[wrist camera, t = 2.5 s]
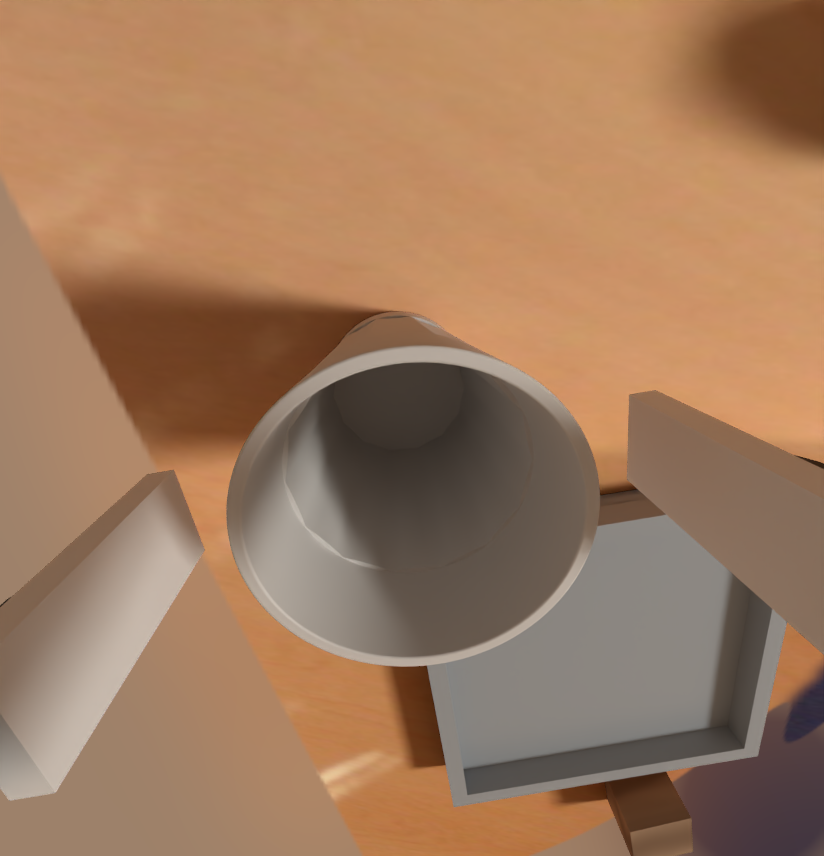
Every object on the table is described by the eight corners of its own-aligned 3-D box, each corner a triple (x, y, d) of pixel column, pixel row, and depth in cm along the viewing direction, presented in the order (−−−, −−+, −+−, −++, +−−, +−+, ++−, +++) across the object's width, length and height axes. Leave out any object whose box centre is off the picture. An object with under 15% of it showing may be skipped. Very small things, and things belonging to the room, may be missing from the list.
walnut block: (601, 766, 32) (630, 832, 29) (655, 753, 32) (691, 818, 29) (606, 797, 34) (634, 865, 30) (658, 785, 34) (692, 851, 30)
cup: (315, 458, 22) (247, 673, 11) (306, 289, 19) (199, 341, 8) (475, 458, 22) (568, 662, 11) (490, 294, 19) (636, 349, 8)
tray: (403, 527, 24) (406, 558, 21) (773, 466, 24) (816, 490, 21) (448, 765, 31) (453, 807, 29) (729, 718, 31) (757, 756, 29)
